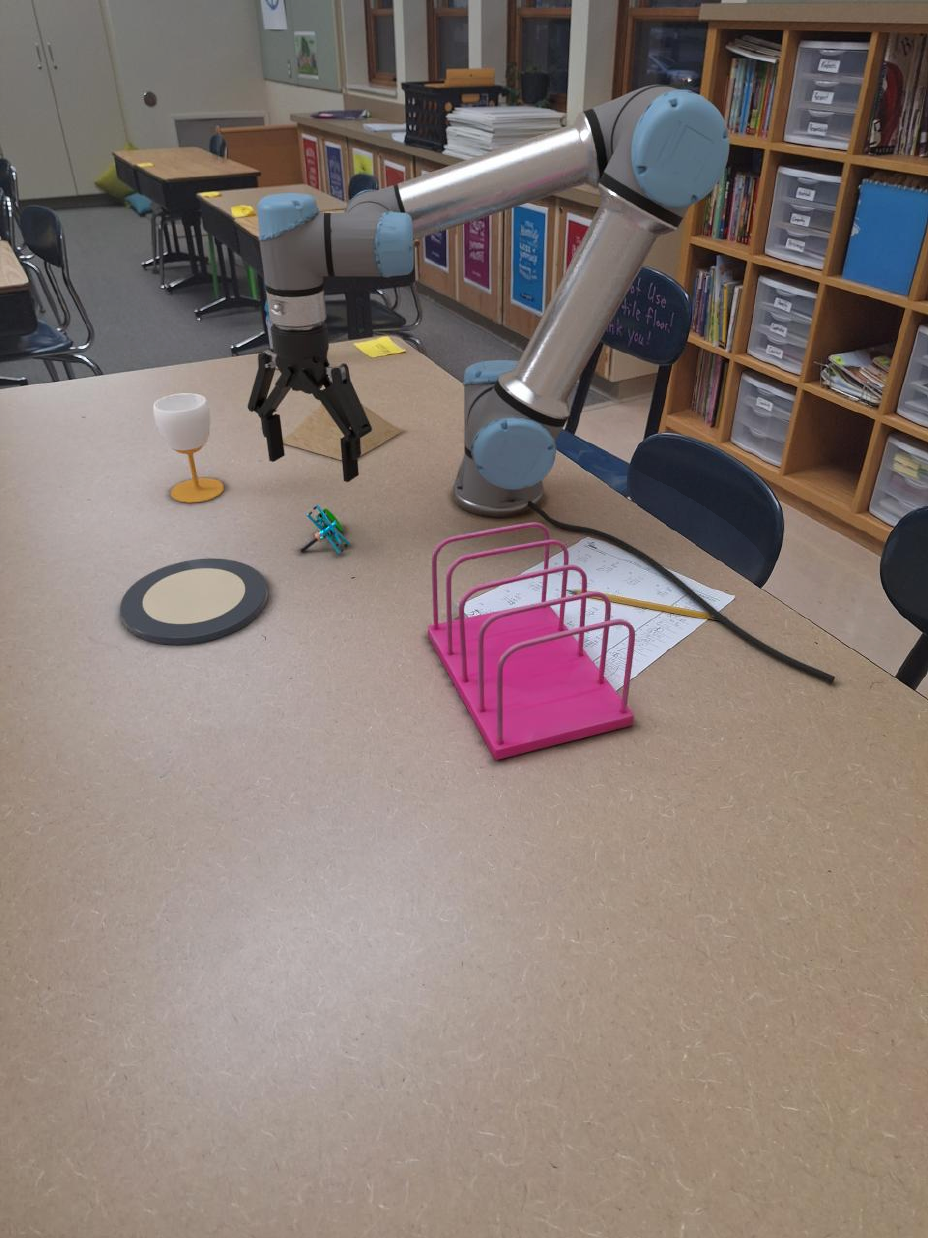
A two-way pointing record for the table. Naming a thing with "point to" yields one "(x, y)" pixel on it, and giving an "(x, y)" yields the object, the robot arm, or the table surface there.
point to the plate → (194, 601)
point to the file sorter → (529, 661)
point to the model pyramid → (337, 433)
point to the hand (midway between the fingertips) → (313, 468)
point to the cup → (187, 440)
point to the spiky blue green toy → (326, 529)
